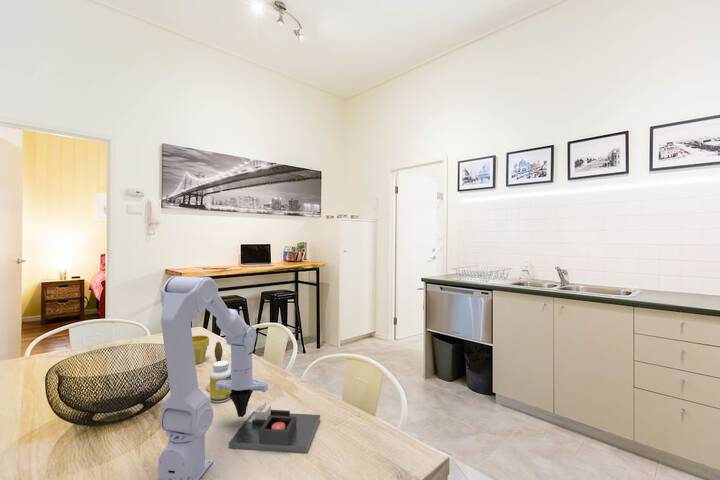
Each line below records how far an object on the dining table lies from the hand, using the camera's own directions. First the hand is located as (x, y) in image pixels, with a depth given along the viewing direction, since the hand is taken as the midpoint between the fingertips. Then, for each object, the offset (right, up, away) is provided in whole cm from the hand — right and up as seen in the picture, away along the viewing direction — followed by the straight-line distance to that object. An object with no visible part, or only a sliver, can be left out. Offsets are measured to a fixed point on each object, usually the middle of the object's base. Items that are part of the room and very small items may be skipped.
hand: (241, 415), depth 97 cm
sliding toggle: (+6, -1, -1) cm, 6 cm away
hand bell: (-16, -2, +23) cm, 28 cm away
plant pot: (-36, -2, +47) cm, 59 cm away
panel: (+11, -3, -5) cm, 12 cm away
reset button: (+12, -1, -9) cm, 15 cm away
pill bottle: (-12, -2, +15) cm, 19 cm away
